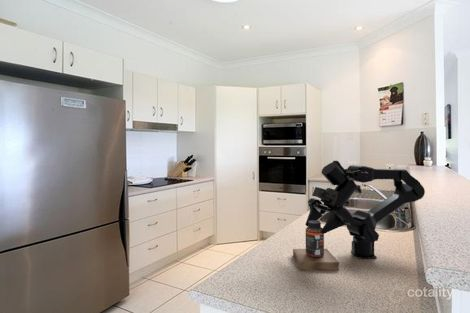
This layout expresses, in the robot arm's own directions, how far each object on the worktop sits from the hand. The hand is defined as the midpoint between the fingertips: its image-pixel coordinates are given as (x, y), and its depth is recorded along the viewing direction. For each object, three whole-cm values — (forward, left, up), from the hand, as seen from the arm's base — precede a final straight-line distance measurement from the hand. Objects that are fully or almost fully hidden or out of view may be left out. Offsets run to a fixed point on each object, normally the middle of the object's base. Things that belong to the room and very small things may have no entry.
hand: (313, 229), depth 94 cm
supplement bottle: (0, 0, -9) cm, 9 cm away
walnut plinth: (0, 0, -11) cm, 11 cm away
